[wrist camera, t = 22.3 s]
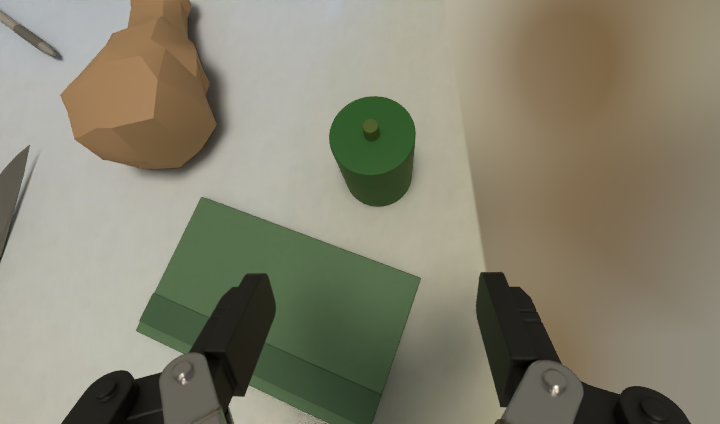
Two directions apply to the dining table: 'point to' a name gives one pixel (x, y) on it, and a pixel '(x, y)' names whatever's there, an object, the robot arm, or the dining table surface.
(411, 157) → the green knobbed canister
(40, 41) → the pen
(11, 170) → the knife
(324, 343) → the towel
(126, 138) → the squash
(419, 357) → the dining table surface
